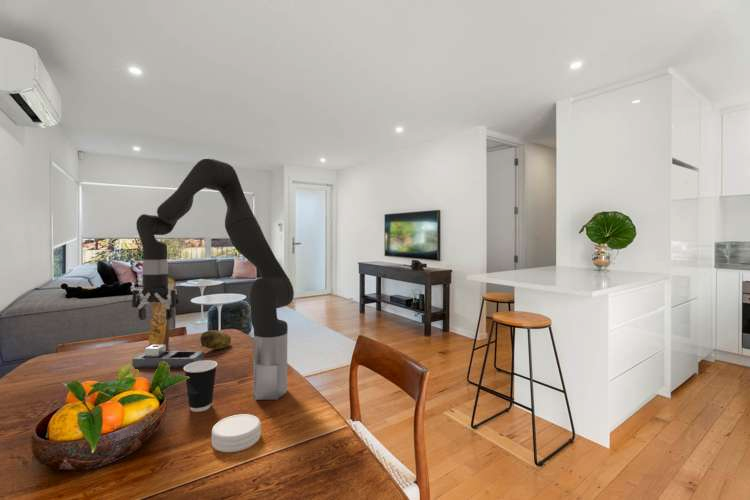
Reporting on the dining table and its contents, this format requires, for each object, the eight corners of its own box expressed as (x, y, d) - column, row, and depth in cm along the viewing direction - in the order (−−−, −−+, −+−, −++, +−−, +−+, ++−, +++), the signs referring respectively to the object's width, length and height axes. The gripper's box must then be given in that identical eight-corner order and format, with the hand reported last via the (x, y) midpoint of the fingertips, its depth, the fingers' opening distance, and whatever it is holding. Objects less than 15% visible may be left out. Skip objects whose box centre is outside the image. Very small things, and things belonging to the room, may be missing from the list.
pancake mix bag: (163, 338, 151) (163, 274, 150) (177, 349, 137) (177, 278, 136) (145, 342, 146) (145, 275, 145) (157, 353, 132) (157, 279, 131)
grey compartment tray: (194, 367, 118) (194, 358, 118) (132, 368, 117) (132, 358, 117) (204, 359, 126) (204, 350, 126) (146, 360, 125) (146, 351, 125)
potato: (237, 347, 140) (237, 328, 140) (205, 355, 131) (205, 334, 130) (227, 343, 146) (227, 324, 146) (195, 350, 136) (195, 330, 136)
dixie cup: (220, 398, 96) (220, 359, 96) (214, 412, 88) (214, 369, 88) (188, 401, 94) (188, 361, 94) (179, 416, 86) (179, 372, 86)
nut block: (158, 364, 119) (158, 348, 119) (144, 364, 119) (144, 348, 119) (165, 359, 123) (165, 344, 123) (152, 360, 123) (152, 344, 123)
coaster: (245, 423, 84) (245, 408, 84) (269, 438, 78) (269, 423, 78) (203, 441, 76) (203, 425, 76) (225, 460, 70) (225, 442, 70)
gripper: (126, 273, 116) (127, 322, 116) (171, 273, 117) (171, 321, 117) (140, 271, 123) (141, 317, 124) (182, 271, 124) (182, 317, 125)
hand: (155, 319), depth 121 cm, fingers open, 8 cm apart
